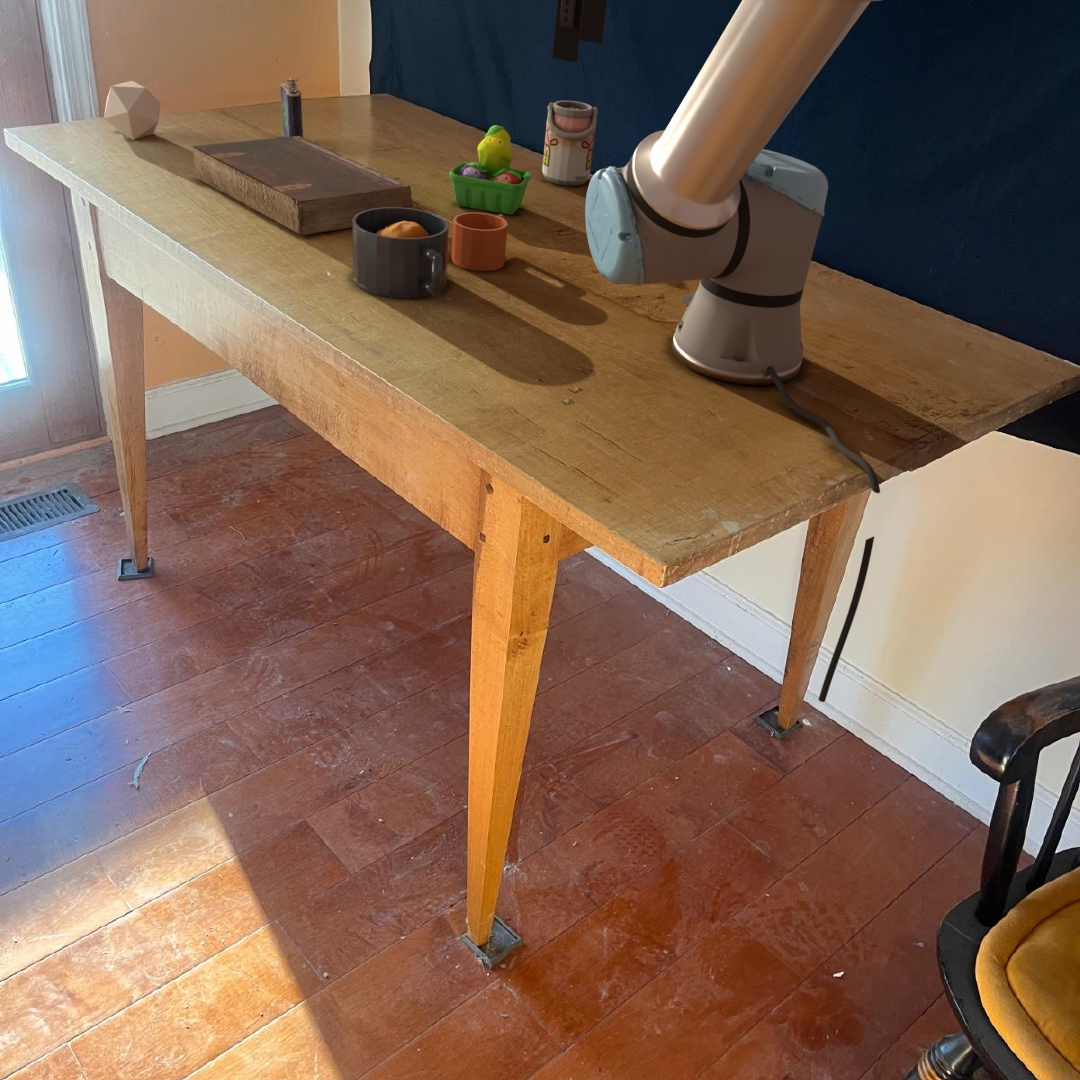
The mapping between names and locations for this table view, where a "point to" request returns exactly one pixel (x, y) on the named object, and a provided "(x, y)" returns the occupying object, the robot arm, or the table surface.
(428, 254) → the big cup
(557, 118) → the white patterned canister
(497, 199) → the fruit basket
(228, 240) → the table surface
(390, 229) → the fruit
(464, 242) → the small cup
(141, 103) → the die
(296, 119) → the flask
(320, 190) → the hardback book
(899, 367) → the table surface
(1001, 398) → the table surface
